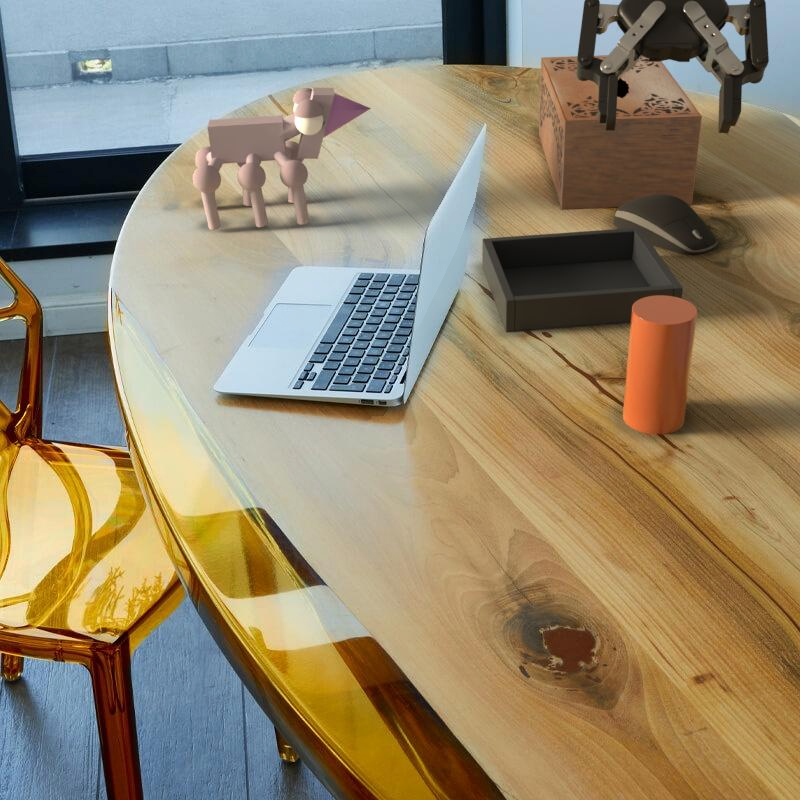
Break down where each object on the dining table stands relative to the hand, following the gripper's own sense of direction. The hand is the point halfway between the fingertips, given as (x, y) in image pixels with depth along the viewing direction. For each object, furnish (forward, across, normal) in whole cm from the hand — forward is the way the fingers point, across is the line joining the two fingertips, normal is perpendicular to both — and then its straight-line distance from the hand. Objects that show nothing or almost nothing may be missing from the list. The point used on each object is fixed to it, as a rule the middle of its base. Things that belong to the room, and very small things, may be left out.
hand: (667, 127), depth 82 cm
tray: (+7, -6, +21) cm, 23 cm away
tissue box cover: (-18, -3, +46) cm, 50 cm away
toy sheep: (-6, -38, +34) cm, 52 cm away
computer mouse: (-3, +3, +31) cm, 31 cm away
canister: (+22, 0, +6) cm, 23 cm away
